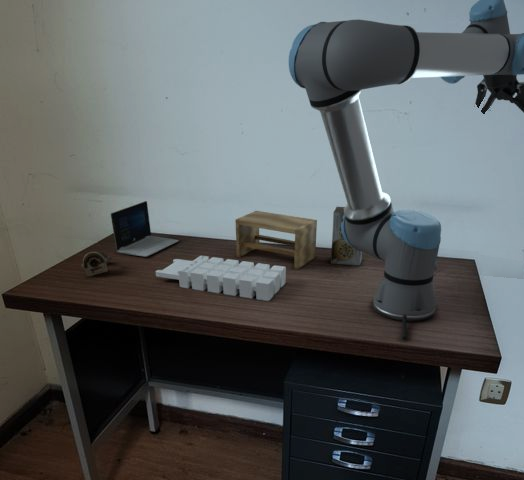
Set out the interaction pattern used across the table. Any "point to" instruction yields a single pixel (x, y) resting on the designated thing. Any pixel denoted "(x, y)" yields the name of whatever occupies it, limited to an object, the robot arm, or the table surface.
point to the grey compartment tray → (227, 276)
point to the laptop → (136, 232)
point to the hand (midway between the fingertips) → (513, 135)
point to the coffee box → (342, 243)
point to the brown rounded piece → (95, 263)
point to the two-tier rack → (289, 224)
